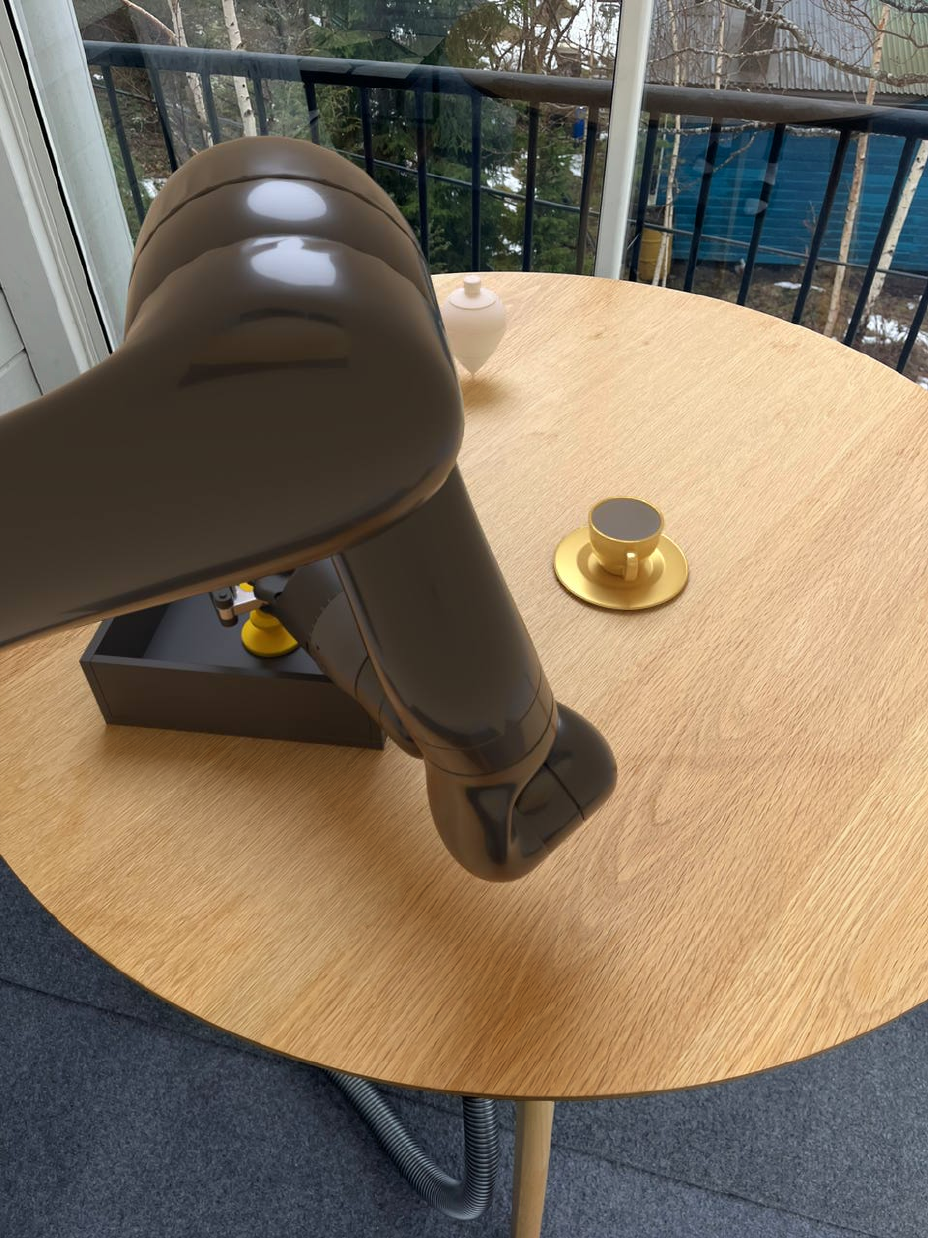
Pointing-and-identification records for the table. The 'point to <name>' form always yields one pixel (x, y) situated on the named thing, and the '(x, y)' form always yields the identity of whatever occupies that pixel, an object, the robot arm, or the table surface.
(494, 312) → the spinning top
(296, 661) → the bin
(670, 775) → the table surface
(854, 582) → the table surface
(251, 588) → the candle
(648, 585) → the cup
